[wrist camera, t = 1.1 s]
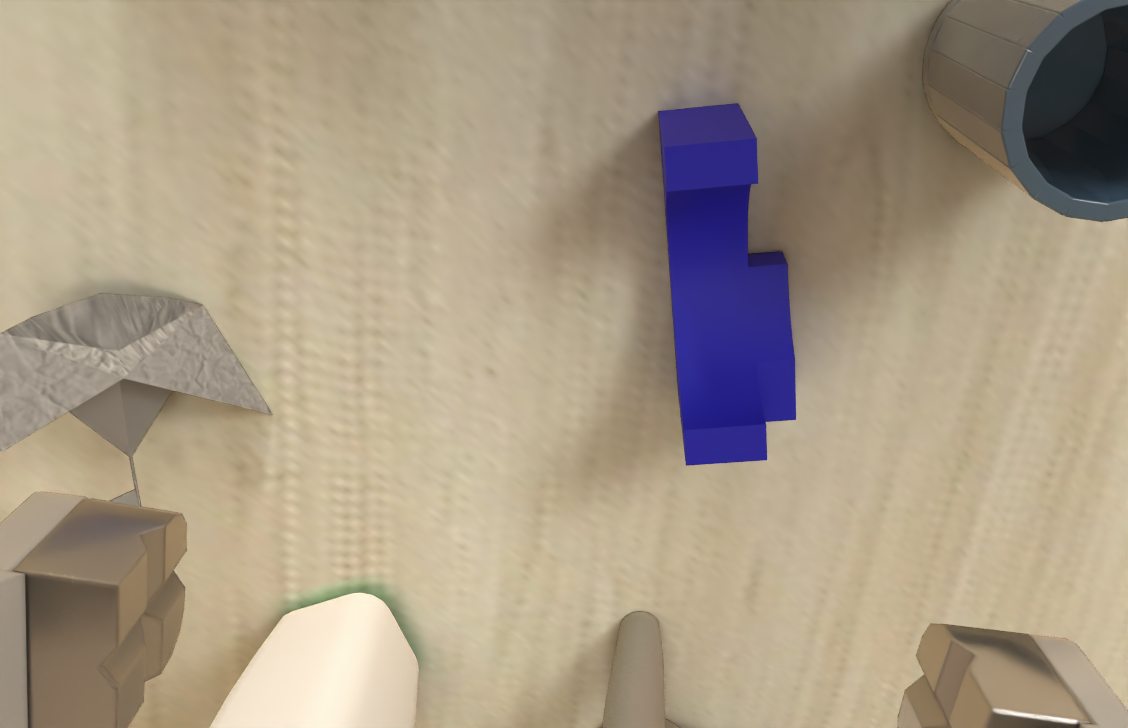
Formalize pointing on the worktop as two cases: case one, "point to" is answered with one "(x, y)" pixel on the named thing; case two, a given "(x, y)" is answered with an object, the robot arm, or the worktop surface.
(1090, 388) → the worktop surface
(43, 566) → the robot arm
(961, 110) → the tumbler
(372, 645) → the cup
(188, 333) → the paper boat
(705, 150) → the blue half clamp bracket
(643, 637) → the elf figurine
